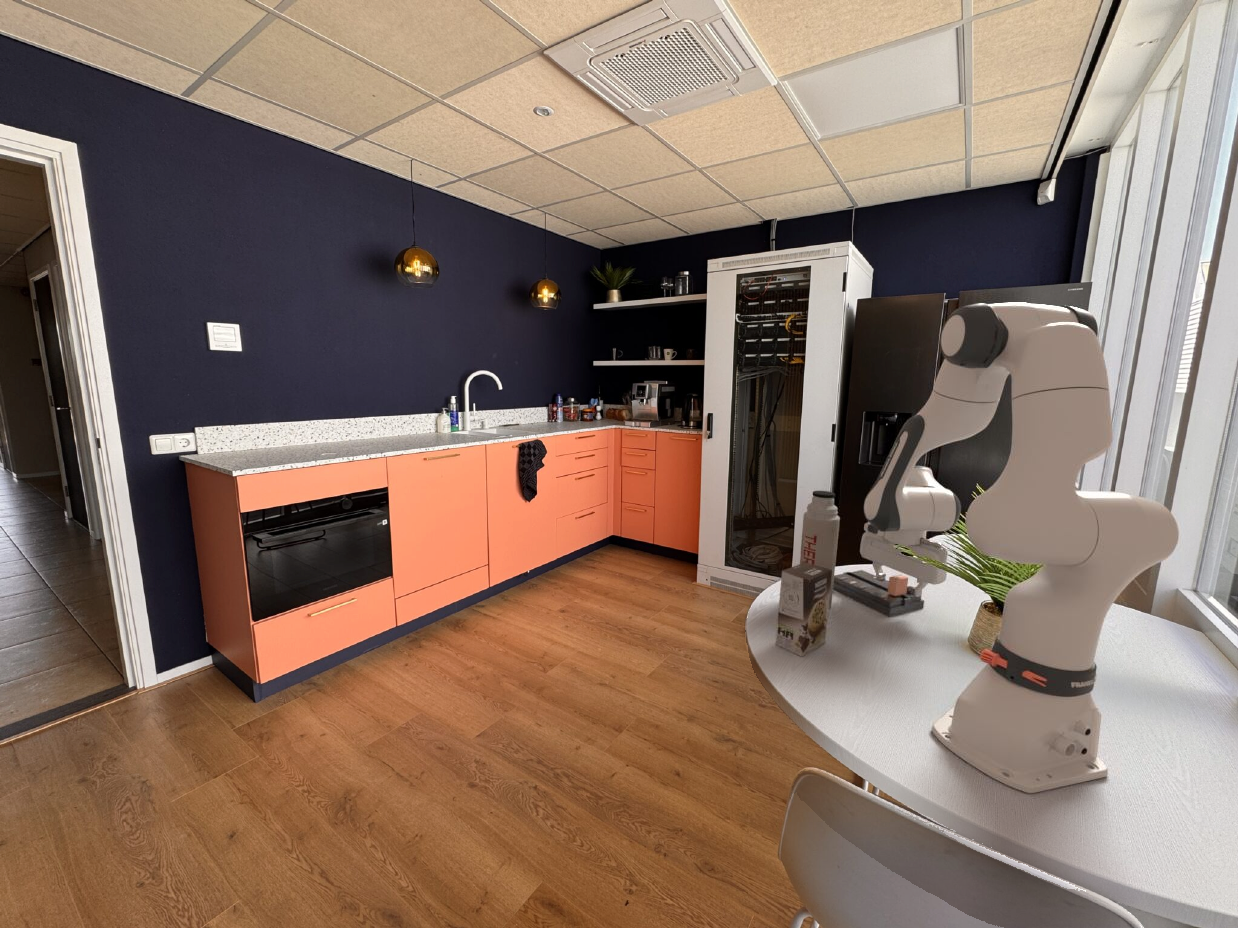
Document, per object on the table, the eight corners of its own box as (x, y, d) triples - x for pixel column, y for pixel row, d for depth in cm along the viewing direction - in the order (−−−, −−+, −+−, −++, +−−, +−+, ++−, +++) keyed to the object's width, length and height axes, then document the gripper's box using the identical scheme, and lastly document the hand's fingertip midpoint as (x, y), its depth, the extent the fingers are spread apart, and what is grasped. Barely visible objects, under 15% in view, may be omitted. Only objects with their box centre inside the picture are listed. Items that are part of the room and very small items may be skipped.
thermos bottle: (810, 613, 119) (820, 496, 114) (789, 598, 127) (798, 489, 122) (838, 609, 122) (850, 495, 117) (816, 595, 129) (826, 487, 124)
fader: (894, 602, 121) (896, 579, 120) (886, 598, 123) (889, 576, 122) (905, 599, 123) (908, 577, 122) (898, 596, 124) (900, 574, 123)
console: (889, 617, 118) (891, 599, 117) (828, 587, 134) (829, 571, 133) (923, 608, 123) (925, 591, 122) (860, 580, 139) (862, 565, 138)
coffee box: (802, 657, 100) (809, 580, 97) (774, 644, 105) (780, 570, 102) (826, 643, 106) (833, 569, 103) (798, 631, 111) (804, 560, 108)
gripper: (957, 544, 112) (949, 603, 114) (876, 519, 130) (870, 570, 132) (938, 547, 109) (930, 607, 112) (858, 522, 127) (853, 574, 130)
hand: (897, 587), depth 122 cm, fingers open, 8 cm apart
